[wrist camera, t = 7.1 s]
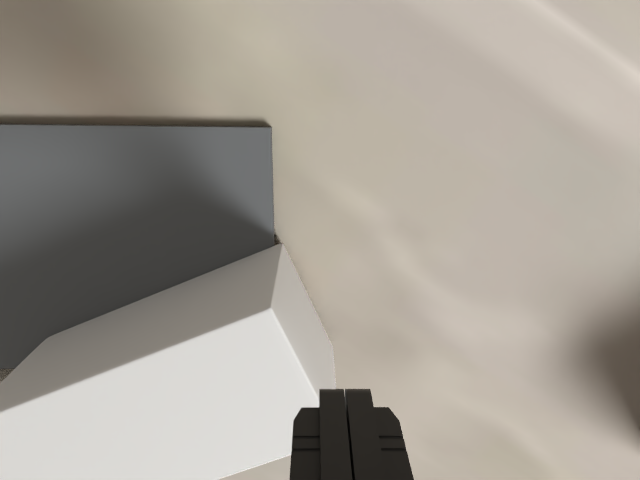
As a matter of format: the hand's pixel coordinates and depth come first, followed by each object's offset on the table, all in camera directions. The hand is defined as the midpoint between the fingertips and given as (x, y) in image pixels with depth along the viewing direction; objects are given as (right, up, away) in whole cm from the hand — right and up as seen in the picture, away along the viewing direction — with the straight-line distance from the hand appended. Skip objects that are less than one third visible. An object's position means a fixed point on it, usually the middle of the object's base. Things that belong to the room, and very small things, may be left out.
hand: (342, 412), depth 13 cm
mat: (-12, +4, +11) cm, 17 cm away
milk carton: (-1, +1, +8) cm, 8 cm away
